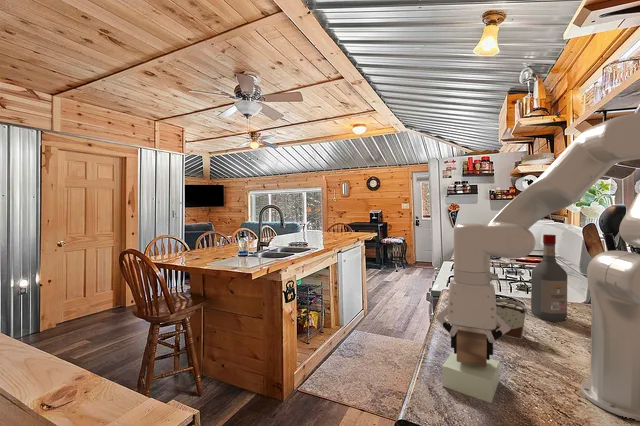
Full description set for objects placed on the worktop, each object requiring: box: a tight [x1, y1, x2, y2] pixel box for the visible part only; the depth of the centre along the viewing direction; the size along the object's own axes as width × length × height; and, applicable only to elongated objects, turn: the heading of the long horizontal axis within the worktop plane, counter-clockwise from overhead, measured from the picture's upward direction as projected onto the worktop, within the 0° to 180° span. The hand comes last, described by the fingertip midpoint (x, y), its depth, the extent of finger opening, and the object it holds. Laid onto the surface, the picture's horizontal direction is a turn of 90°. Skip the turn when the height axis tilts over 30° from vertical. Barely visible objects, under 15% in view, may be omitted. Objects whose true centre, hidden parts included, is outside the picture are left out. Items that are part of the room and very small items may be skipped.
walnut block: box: [457, 326, 487, 368], centre depth 71 cm, size 6×6×6 cm
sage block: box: [441, 349, 500, 404], centre depth 71 cm, size 10×10×5 cm
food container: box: [492, 298, 529, 340], centre depth 99 cm, size 12×6×10 cm, turn 47°
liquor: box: [530, 234, 568, 322], centre depth 111 cm, size 9×9×30 cm
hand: (471, 353), depth 71 cm, fingers closed on walnut block, 6 cm apart
